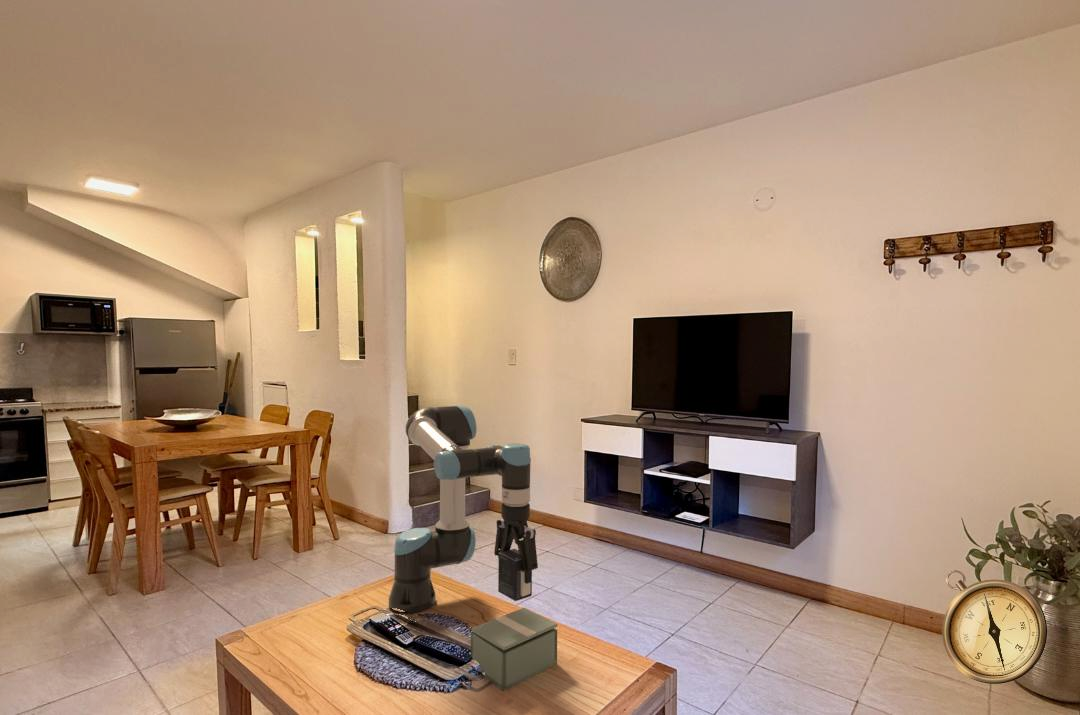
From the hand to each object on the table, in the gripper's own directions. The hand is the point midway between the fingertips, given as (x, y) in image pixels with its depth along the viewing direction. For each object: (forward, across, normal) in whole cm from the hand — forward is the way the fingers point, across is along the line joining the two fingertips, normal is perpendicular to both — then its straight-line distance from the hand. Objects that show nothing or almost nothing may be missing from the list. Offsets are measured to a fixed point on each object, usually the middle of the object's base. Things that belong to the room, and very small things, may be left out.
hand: (515, 589), depth 139 cm
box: (+1, 0, 0) cm, 1 cm away
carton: (+20, 0, 0) cm, 20 cm away
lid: (+10, 0, 0) cm, 10 cm away
